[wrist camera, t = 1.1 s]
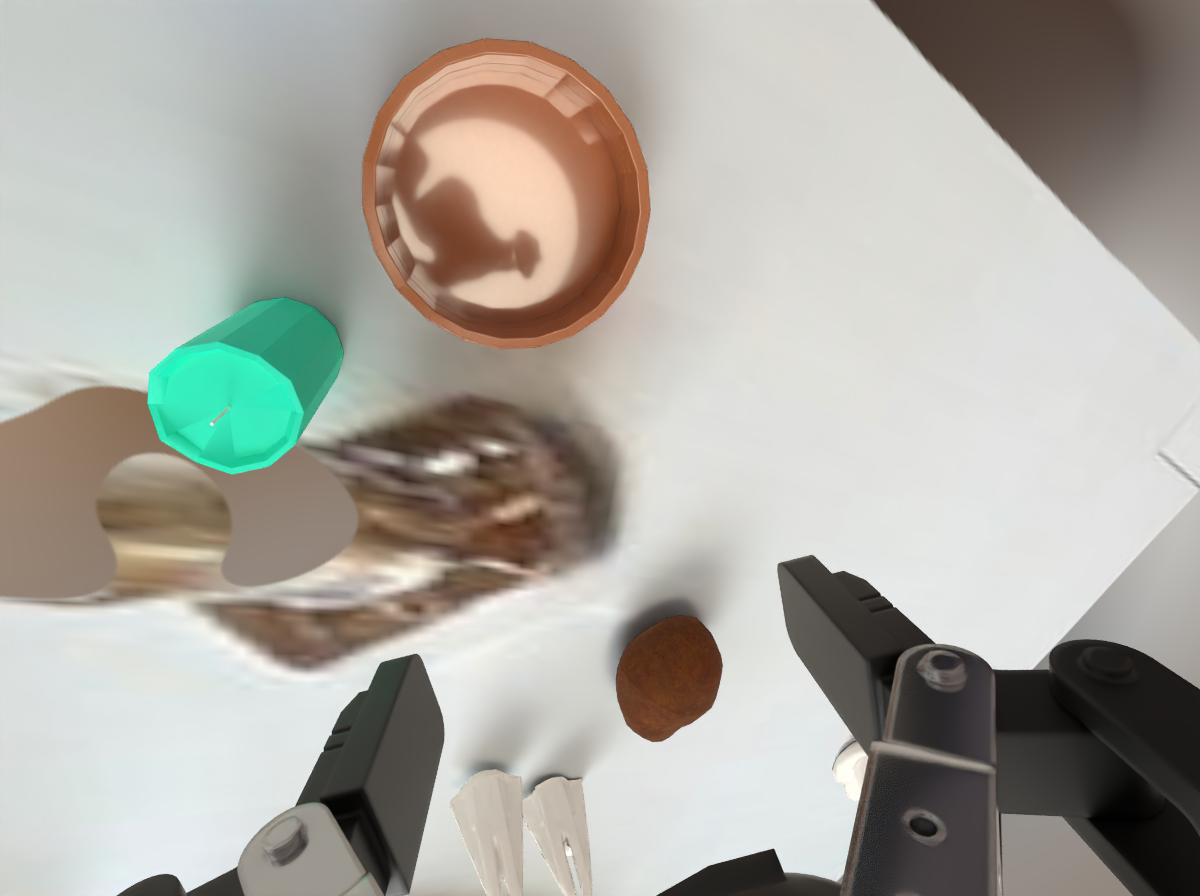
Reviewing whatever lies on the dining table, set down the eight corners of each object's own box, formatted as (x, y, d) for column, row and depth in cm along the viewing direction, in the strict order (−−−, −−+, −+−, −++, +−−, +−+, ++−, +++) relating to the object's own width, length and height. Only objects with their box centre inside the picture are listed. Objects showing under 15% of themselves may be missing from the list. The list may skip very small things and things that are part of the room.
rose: (911, 825, 63) (840, 827, 60) (885, 787, 67) (816, 788, 64) (957, 759, 60) (883, 757, 57) (926, 723, 64) (856, 720, 61)
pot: (413, 347, 36) (407, 370, 31) (340, 73, 29) (319, 53, 25) (635, 309, 38) (659, 326, 33) (611, 45, 32) (636, 23, 27)
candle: (261, 275, 32) (165, 320, 22) (363, 337, 35) (321, 404, 24) (211, 361, 34) (96, 444, 23) (312, 415, 36) (251, 513, 25)
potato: (587, 687, 50) (607, 764, 44) (632, 586, 47) (662, 653, 40) (672, 697, 53) (704, 770, 47) (721, 602, 50) (762, 667, 43)
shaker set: (446, 786, 51) (444, 928, 42) (468, 753, 50) (471, 891, 41) (563, 807, 56) (586, 940, 46) (585, 777, 55) (613, 906, 45)
